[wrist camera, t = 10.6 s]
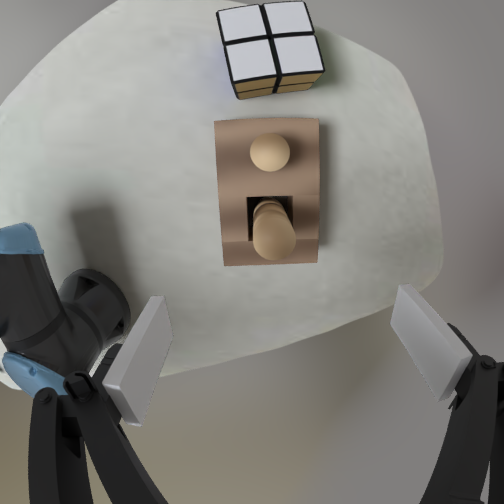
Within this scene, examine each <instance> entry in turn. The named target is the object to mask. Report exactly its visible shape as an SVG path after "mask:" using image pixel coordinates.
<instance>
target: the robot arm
mask: <svg viewBox="0 0 504 504" xmlns="http://www.w3.org/2000/svg"><path fill="white" fill-rule="evenodd" d="M129 323H130V310H129V306H128V303H127V301H126V299H125V297H124V295H123V294H122V292H121V291H120V289H119V288H118V287H117V286H116V285H115V284H114V283H113V282H112V281H111V280H110V279H109V278H107V277H106V276H104V275H103V274H101V273H99V272H97V271H94V270H90V269H80V270H77V271H75V272H73V273H72V274H71V275H70V276H69V277H67V278H66V279H65V281H64V282H63V283H62V285H61V288H60V290H59V292H58V293H57V290H56V288H55V285H54V283H53V280H52V278H51V275H50V272H49V269H48V266H47V263H46V260H45V257H44V250H42V248H41V245H40V243H39V240H38V237H37V234H36V231H35V229H34V227H33V226H32V225H30V224H29V223H19V224H15V225H11V226H8V227H4V228H1V229H0V338H1V340H2V341H3V343H4V345H5V347H6V348H7V352H5V353H4V357H3V359H2V363H3V365H4V369H5V370H6V372H7V373H8V375H9V376H10V377H11V379H12V380H13V381H14V382H15V383H16V384H17V385H18V386H19V387H20V388H21V389H22V390H24V391H25V392H26V393H27V394H29V395H30V396H31V397H33V398H34V399H33V406H32V414H31V423H30V435H29V456H28V479H29V498H30V504H93V499H92V494H91V489H90V483H89V477H88V470H87V462H86V454H85V444H86V446H87V449H88V451H89V454H90V457H91V459H92V462H93V464H94V466H95V469H96V471H97V473H98V475H99V478H100V480H101V482H102V484H103V486H104V488H105V490H106V492H107V494H108V496H109V498H110V500H111V502H112V504H168V502H167V501H166V500H165V498H164V497H163V496H162V494H161V493H160V491H159V490H158V488H157V487H156V485H155V484H154V482H153V481H152V479H151V478H150V476H149V475H148V473H147V471H146V470H145V468H144V467H143V465H142V463H141V462H140V460H139V458H138V457H137V455H136V453H135V451H134V450H133V448H132V446H131V444H130V442H129V440H128V439H127V437H126V435H125V433H124V431H123V429H122V427H121V425H120V424H119V422H120V420H121V417H122V418H123V419H124V421H125V422H126V424H130V425H136V426H141V427H142V425H143V421H144V419H145V416H146V412H147V410H148V406H149V404H150V401H151V398H152V395H153V392H154V389H155V386H156V383H157V380H158V377H159V375H160V372H161V369H162V366H163V363H164V361H165V358H166V355H167V352H168V350H169V347H170V344H171V342H172V339H173V336H174V335H173V331H172V327H171V323H170V319H169V314H168V310H167V305H166V301H165V296H151V298H150V299H149V301H148V303H147V304H146V306H145V308H144V309H143V311H142V313H141V314H140V316H139V318H138V319H137V321H136V323H135V324H134V326H133V328H132V329H131V331H130V333H129V335H128V336H127V338H126V340H125V342H124V343H123V344H117V343H116V344H114V345H113V346H112V347H111V348H110V349H108V351H107V352H106V354H105V356H104V358H103V359H102V361H101V363H100V364H99V366H98V368H97V369H96V371H95V373H94V375H93V376H92V378H91V376H90V375H89V372H90V370H91V368H92V367H93V365H94V363H95V361H96V360H97V358H98V356H99V355H100V353H101V351H102V350H104V349H105V348H107V347H108V346H110V345H111V344H113V343H115V342H116V341H118V340H119V339H120V338H121V337H122V336H123V335H124V333H125V331H126V330H127V328H128V326H129ZM390 325H391V326H392V328H393V329H394V331H395V332H396V334H397V335H398V337H399V339H400V340H401V342H402V343H403V345H404V347H405V348H406V350H407V351H408V353H409V354H410V356H411V358H412V359H413V361H414V362H415V364H416V366H417V368H418V369H419V371H420V372H421V374H422V376H423V377H424V379H425V381H426V383H427V384H428V386H429V388H430V390H431V391H432V393H433V395H434V397H435V398H436V400H437V401H438V402H439V401H441V400H444V399H447V398H449V397H450V395H451V394H452V392H453V390H454V389H455V391H456V392H457V395H456V396H455V398H454V400H453V401H452V403H451V404H450V406H449V408H448V409H450V408H451V407H452V406H453V408H452V412H451V416H450V420H449V424H448V428H447V432H446V435H445V439H444V442H443V445H442V449H441V451H440V454H439V457H438V460H437V463H436V466H435V468H434V471H433V474H432V476H431V479H430V481H429V483H428V486H427V488H426V490H425V493H424V495H423V497H422V499H421V501H420V503H419V504H484V502H482V501H480V496H481V492H482V489H483V486H484V482H485V478H486V474H487V470H488V465H489V461H490V484H489V496H488V504H504V362H499V363H496V361H495V360H494V359H493V358H492V357H490V356H487V355H482V356H480V355H479V354H478V353H477V352H476V350H475V349H474V348H473V346H472V345H471V344H470V343H469V342H468V341H467V340H466V338H465V337H464V336H463V335H462V334H461V332H460V331H459V330H458V329H457V328H456V327H454V326H453V325H451V324H450V323H447V324H446V323H445V321H444V320H443V319H442V318H441V317H440V316H439V315H438V313H437V312H436V311H435V310H434V309H433V308H432V307H431V306H430V305H429V304H428V303H427V301H426V300H425V299H424V298H423V297H422V296H421V295H420V294H419V293H418V292H417V291H416V290H415V289H414V288H413V287H412V286H411V285H410V284H401V285H399V287H398V291H397V296H396V301H395V305H394V309H393V313H392V317H391V321H390ZM84 441H85V444H84Z"/></svg>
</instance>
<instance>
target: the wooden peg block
mask: <svg viewBox="0 0 504 504" xmlns="http://www.w3.org/2000/svg"><path fill="white" fill-rule="evenodd" d="M214 128H215V147H216V164H217V180H218V195H219V209H220V222H221V235H222V247H223V259H224V266H242V265H270V264H296V263H317V260H318V238H319V201H320V156H319V120H318V119H312V118H256V119H236V120H221V121H214ZM256 196H287V217H288V219H289V221H290V223H291V225H292V227H293V230H294V232H295V235H296V244H295V247H294V249H293V251H292V252H291V253H290V254H289V255H288V256H287V257H285V258H283V259H280V260H268V259H265V258H263V257H262V256H260V255H259V254H258V253H257V251H256V250H255V248H254V244H253V227H249V212H248V197H256Z"/></svg>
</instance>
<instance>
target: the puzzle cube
mask: <svg viewBox="0 0 504 504" xmlns="http://www.w3.org/2000/svg"><path fill="white" fill-rule="evenodd" d="M216 17H217V21H218V26H219V30H220V35H221V39H222V43H223V46H224V53H225V57H226V62H227V67H228V71H229V76H230V80H231V84H232V87H233V89H234V92H235V95H236V97H237V98H238V99H239V100H241V99H246V98H251V97H257V96H263V95H269V94H272V93H273V92H275V93H283V92H291V91H300V90H308V89H309V88H310V86H311V85H312V84H313V83H314V82H315V81H316V80H317V79H318V78H319V77H320V76H321V75H322V74H323V73H324V72H325V67H324V63H323V59H322V55H321V52H320V48H319V44H318V41H317V37H316V36H315V35H313V34H314V33H315V31H314V27H313V24H312V21H311V18H310V15H309V12H308V9H307V6H306V3H305V2H303V1H286V2H273V3H264V4H263V5H259V4H254V5H247V6H240V7H234V8H229V9H224V10H219V11H217V12H216Z"/></svg>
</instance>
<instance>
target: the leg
mask: <svg viewBox="0 0 504 504" xmlns="http://www.w3.org/2000/svg"><path fill="white" fill-rule="evenodd" d="M253 244H254V248H255V250H256V251H257V253H258V254H259V255H260V256H262V257H263V258H265V259H268V260H280V259H283V258H285V257H287V256H288V255H289V254H290V253H291V252H292V251H293V249H294V247H295V244H296V235H295V232H294V230H293V227H292V225H291V223H290V221H289V219H288V217H287V214H286V212H285V210H284V208H283V206H282V204H281V203H280V202H279V201H278V200H276V199H274V198H272V197H264V198H262V199H261V200H259V202H258V203H257V204H256V206H255V208H254V212H253Z"/></svg>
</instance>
